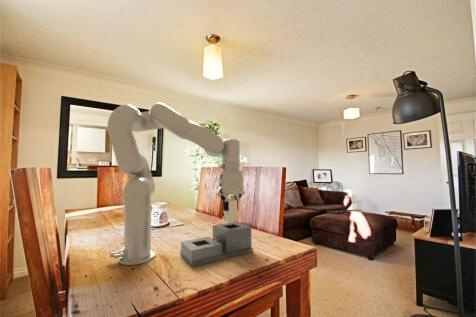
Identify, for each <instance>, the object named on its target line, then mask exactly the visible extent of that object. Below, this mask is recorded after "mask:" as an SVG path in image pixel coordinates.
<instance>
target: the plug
mask: <svg viewBox="0 0 476 317" xmlns="http://www.w3.org/2000/svg"><path fill="white" fill-rule="evenodd" d="M227 202H228V211H224V210H223V211H224V212H223V213H224V214H223V218H224V220H223V221H224V222H226V223H232V222H238V210H237V200H235V199H234V197H233V198H231V197H230V198H229V197H228V200H227Z"/></svg>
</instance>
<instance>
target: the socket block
mask: <svg viewBox="0 0 476 317" xmlns="http://www.w3.org/2000/svg"><path fill="white" fill-rule="evenodd" d="M179 252H180V254H179V255H180V257H182V259H183V260H184V261H186V262H187V263H188V264H189V266H191V268H196V267H200V266H204V265H209V264H213V263H217V262H220V261H224V260H229V259H232V258H235V257H241V256H244V255H247V254H252V253H254V249H253V248H252V226H249V225H247V224H244V223H241V222H238V221H237V222H231V223H228V222H226V223H221V224H220V223H219V224H213V225H212V237H210V236H204V237H199V238H193V239H188V240H184V241H181V242H180V251H179Z"/></svg>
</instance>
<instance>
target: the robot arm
mask: <svg viewBox="0 0 476 317" xmlns="http://www.w3.org/2000/svg"><path fill="white" fill-rule="evenodd" d="M108 117H109V118H108V121H107V132H108V136H109V139H110V142H111V145H112V149H113V153H114V156H115V159H116V162H117V166H118V169H119V171H120V172H121V173H123V175H127V178H128V181H127V182H126V184H125V185H124V187H123V195H122V196H123V204H124V206H123V208H124V226H123V227H124V232H123V233H124V237H123V238H124V239H123V240H124V241H123V243H124V244H123V246H122V249H120V250H118V251H112V252H109V258H110V259H112V258H114V259H118V262H119V264H121V265H124V266H134V265H135V266H136V265H140V264H145V263H147V262H150V261H152V260H153V259H154V258H155V256H156V253H155V252H154V251H153V250H152V201H151V196H152V195H153V194H154V192H155V189H156V185H155V182H154V177H153V174H152V171H151V169H150V166H149V162H148V161H147V158H146V156H144V155H143V154H141V153H140V151H139V148H138V145H137V141H136V139H135V135H134V132H136V133H137V132H138V133H139V132H145V131H151V130H152V131H153V130H160V129H166V130H167V131H168V132H170V133H172V134H173V135H175V136H177V137H178V138H179V139H182V140H187V141H189V142H191V143H194V144H195V145H197V146H198V147H200V148H201V149H204V152H205V153H206V154H207V155H208V156H210V157H217V156H218V157H220V156H221V158H222V159H221V162H222V163H221V164H219V169H220V168H221V171H220V174H219V180H218V189H217V190H216V192H215V195H216V196H217V197H218V198H220V199H221V202H222V209H223V211H228V202H227V200H228V198H229V195H233V199H235V200H237V211H239V201H240V199H241V198H242V196H244V195H245V194H246V193H245V190H244V178H243V173H242V171H241V170H240V167H241V166H240V153H241V152H240V146H241V145H240V141H239V140H238V139H236V138H226V139H222V137H220V136H218V135H217V134H216V133H214V132H213V131H211V130H210V129H208V128H207V127H204V126H203V125H201V124H198V123H196V122H194V121H192V120H190V119H189V118H187V117H185V116H184V115H183V114H181V113H179V112H178V111H176V110H175V109H173V108H171V107H170V106H168V105H167V104H165V103H163V102H156V103H153V104H152V105H151V106H150V109H149V110H148V111H140V110H139V109H138V108H137V107H135V106H133V105H132V104H122V105H119V106H118V107H116V108H115V109H113V111H112V112H111V113H110V114H109V116H108Z"/></svg>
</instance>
